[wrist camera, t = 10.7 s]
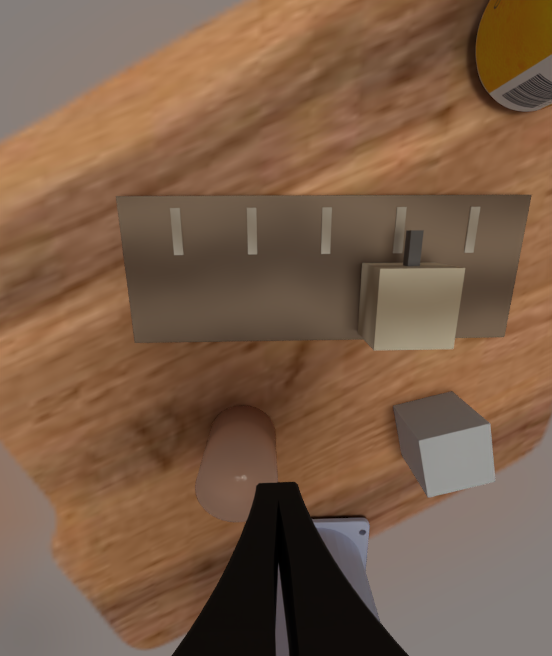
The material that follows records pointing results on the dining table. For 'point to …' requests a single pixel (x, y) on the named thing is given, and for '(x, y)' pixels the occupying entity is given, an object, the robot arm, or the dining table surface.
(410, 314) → the birch slider
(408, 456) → the grey cube
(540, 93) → the beer can
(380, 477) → the dining table surface
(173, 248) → the board
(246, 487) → the terracotta cylinder
